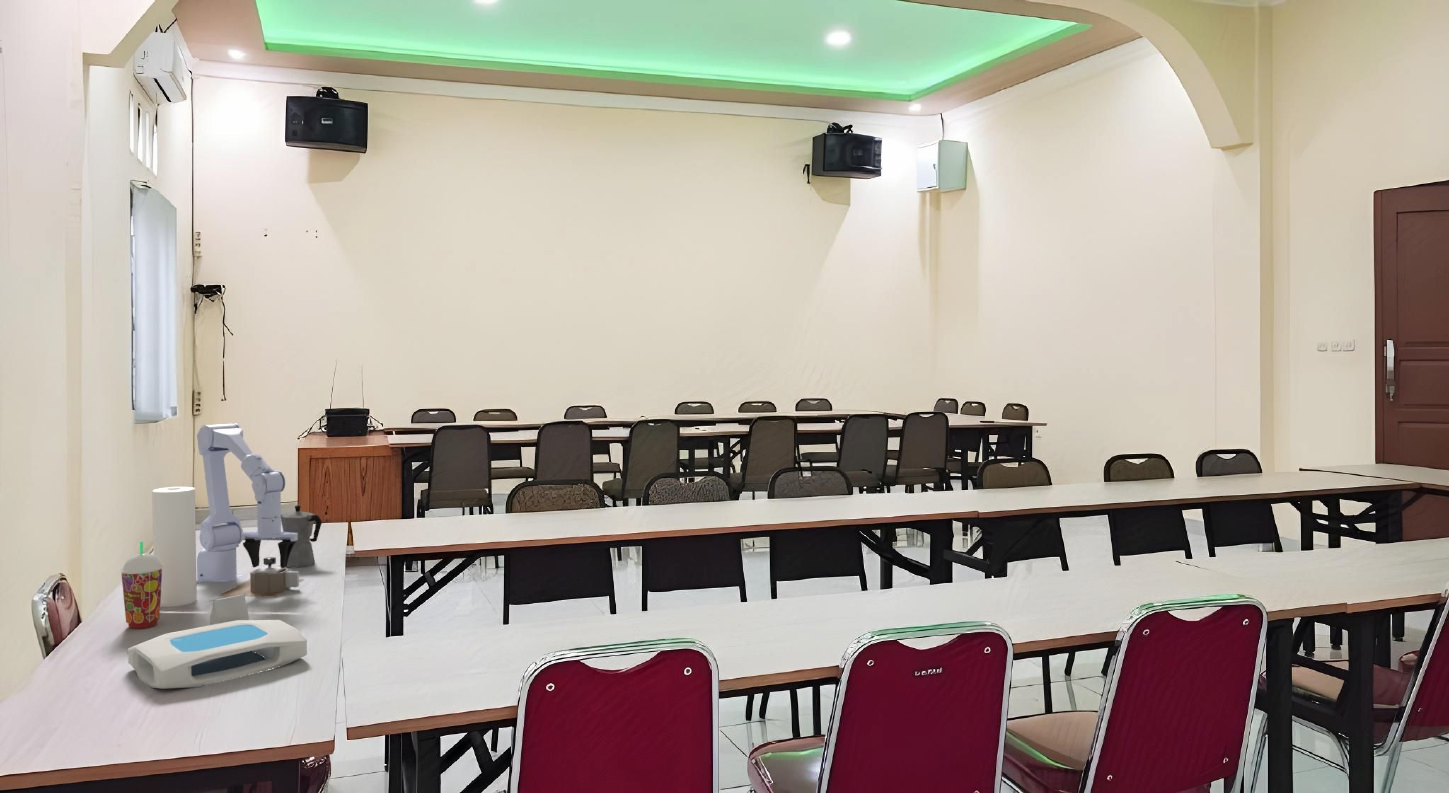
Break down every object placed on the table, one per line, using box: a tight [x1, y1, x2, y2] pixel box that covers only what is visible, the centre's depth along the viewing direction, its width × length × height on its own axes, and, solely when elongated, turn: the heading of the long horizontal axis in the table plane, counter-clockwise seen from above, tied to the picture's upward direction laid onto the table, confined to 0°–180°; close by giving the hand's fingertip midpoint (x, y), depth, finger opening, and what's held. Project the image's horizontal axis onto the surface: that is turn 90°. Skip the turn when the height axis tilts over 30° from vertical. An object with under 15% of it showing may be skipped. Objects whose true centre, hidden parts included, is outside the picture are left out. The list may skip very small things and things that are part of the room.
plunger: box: [263, 556, 277, 570], centre depth 257 cm, size 7×7×8 cm
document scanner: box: [127, 619, 308, 690], centre depth 198 cm, size 21×28×6 cm
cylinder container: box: [151, 486, 198, 608], centre depth 243 cm, size 9×9×30 cm
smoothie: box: [120, 541, 163, 630], centre depth 225 cm, size 8×8×20 cm
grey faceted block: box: [249, 565, 300, 594], centre depth 257 cm, size 12×9×6 cm
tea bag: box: [209, 594, 250, 625], centre depth 214 cm, size 4×7×10 cm, turn 143°
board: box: [217, 578, 305, 597], centre depth 259 cm, size 15×18×1 cm
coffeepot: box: [281, 504, 323, 568], centre depth 288 cm, size 15×9×18 cm, turn 70°
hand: (269, 566), depth 257 cm, fingers open, 7 cm apart
